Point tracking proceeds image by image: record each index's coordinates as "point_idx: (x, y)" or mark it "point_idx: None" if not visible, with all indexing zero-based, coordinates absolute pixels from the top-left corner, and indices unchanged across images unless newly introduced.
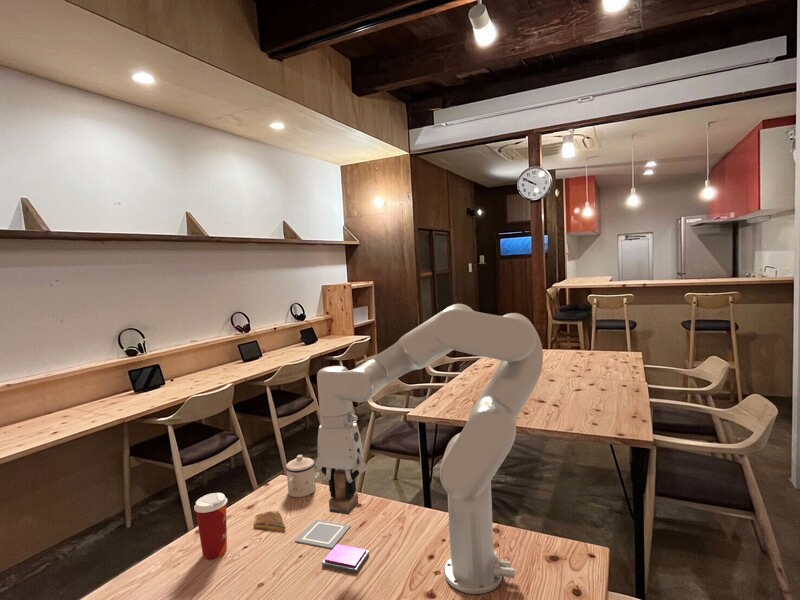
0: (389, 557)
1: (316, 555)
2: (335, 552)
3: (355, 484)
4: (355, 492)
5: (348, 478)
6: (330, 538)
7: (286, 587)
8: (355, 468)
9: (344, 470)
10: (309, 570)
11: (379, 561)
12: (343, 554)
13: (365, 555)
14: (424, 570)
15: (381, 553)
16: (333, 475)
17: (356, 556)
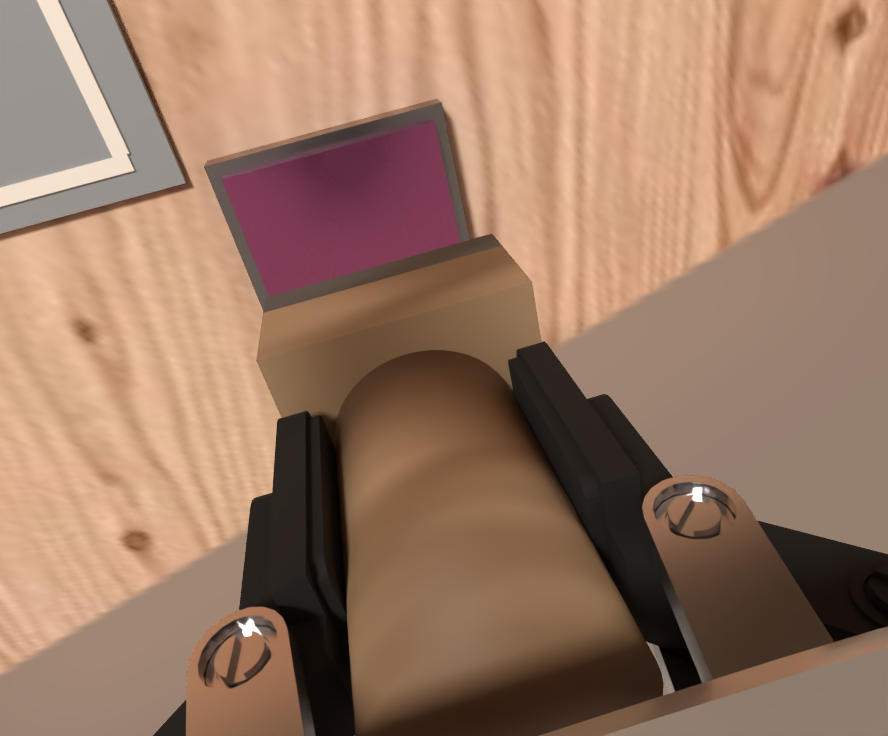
0: (560, 52)
1: (159, 277)
2: (285, 249)
3: (643, 441)
4: (510, 296)
5: (683, 661)
6: (76, 106)
7: (252, 490)
8: (812, 611)
9: (545, 680)
10: (241, 375)
11: (525, 118)
12: (342, 235)
13: (451, 154)
14: (782, 48)
15: (496, 44)
16: (338, 709)
17: (423, 207)
